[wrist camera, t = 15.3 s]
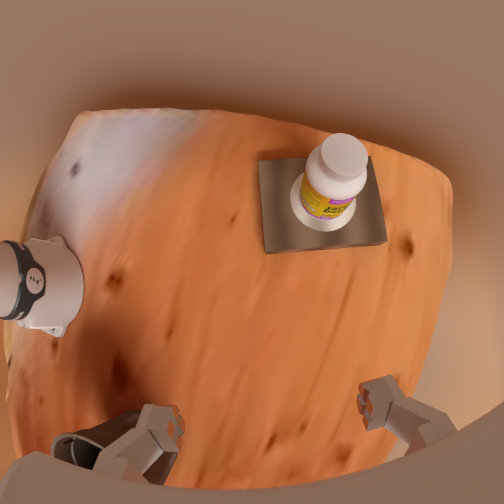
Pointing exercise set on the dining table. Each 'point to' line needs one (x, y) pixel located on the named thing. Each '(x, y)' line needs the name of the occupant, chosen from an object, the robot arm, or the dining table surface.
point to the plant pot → (101, 436)
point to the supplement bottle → (333, 176)
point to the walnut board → (306, 227)
